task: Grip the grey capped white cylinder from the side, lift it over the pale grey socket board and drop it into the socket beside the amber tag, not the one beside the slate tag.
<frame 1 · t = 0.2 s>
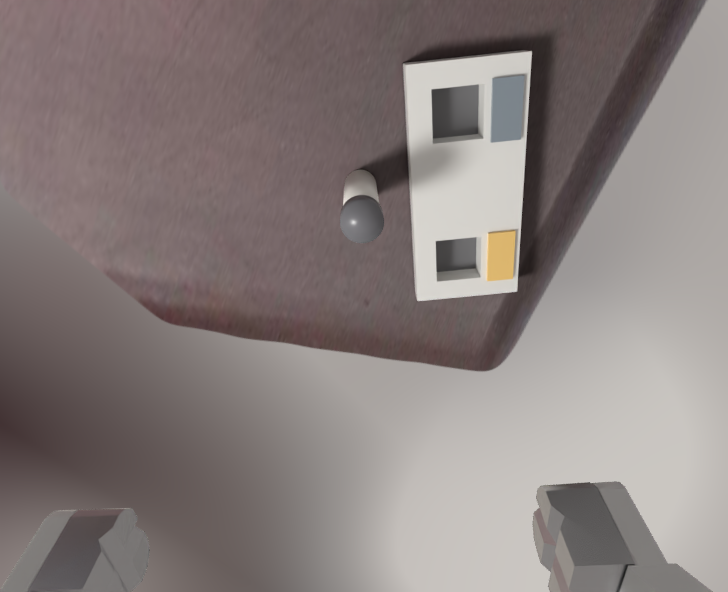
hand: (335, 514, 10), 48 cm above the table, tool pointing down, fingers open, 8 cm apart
socket board: (462, 183, 55), on the table
grey capped white cylinder: (360, 185, 55), on the table
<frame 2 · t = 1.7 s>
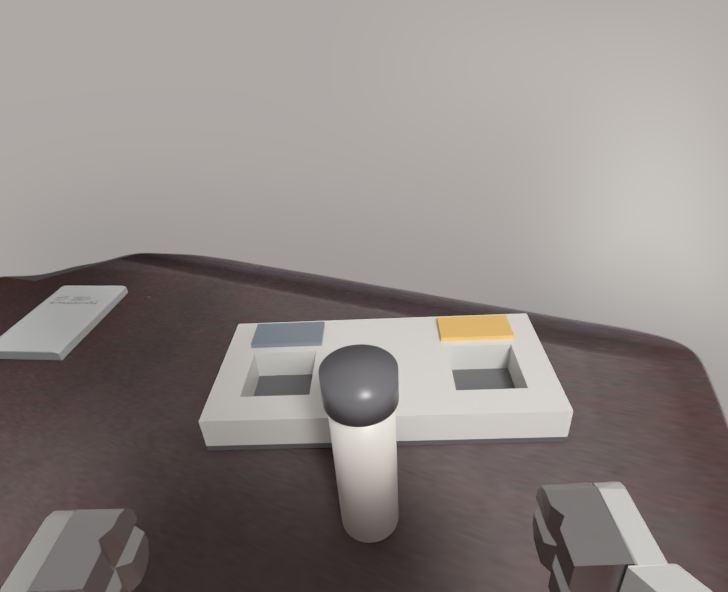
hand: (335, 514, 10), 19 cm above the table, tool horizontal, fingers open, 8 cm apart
socket board: (382, 389, 40), on the table
grey capped white cylinder: (370, 515, 31), on the table
external hard drive: (66, 328, 52), on the table
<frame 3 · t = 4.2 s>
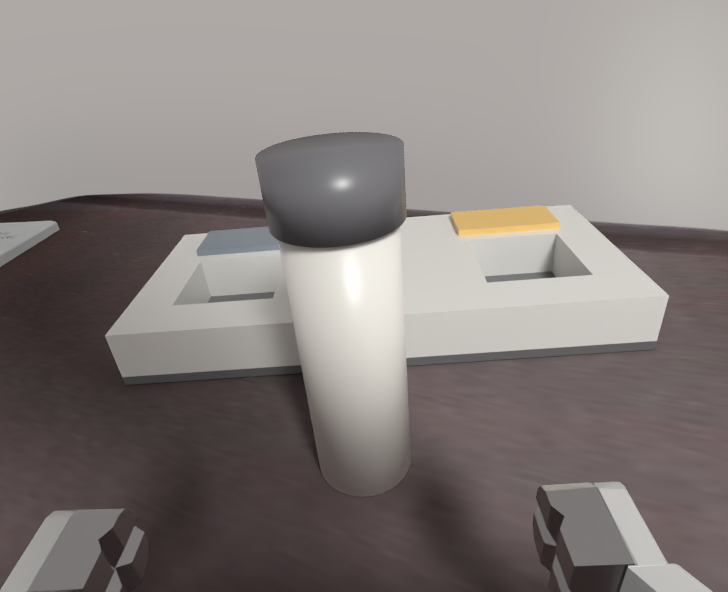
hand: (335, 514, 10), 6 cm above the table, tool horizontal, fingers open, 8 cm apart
socket board: (380, 304, 29), on the table
grey capped white cylinder: (365, 457, 19), on the table
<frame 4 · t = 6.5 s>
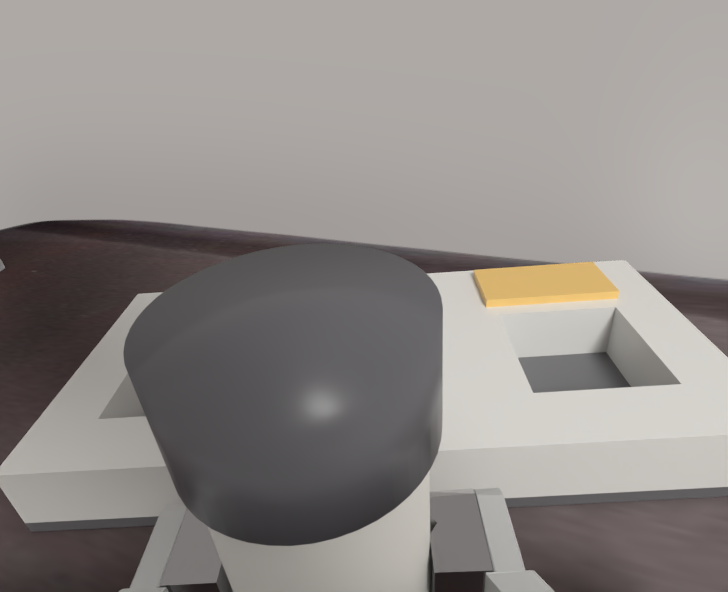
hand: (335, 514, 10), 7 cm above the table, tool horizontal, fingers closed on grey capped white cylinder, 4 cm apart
socket board: (384, 396, 22), on the table
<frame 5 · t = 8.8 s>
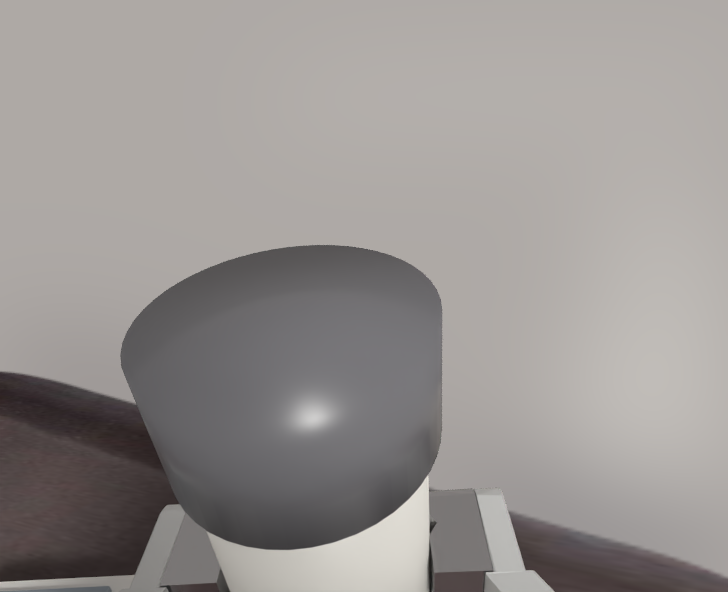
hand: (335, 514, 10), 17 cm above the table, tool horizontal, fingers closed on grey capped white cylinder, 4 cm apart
when the fingers open (8 cm above the table, at t = 11.4 s): grey capped white cylinder stays where it is, resting on socket board.
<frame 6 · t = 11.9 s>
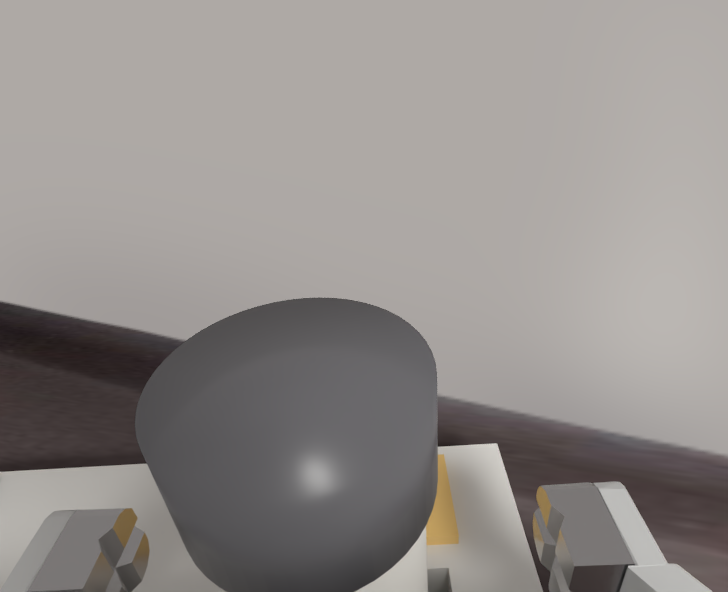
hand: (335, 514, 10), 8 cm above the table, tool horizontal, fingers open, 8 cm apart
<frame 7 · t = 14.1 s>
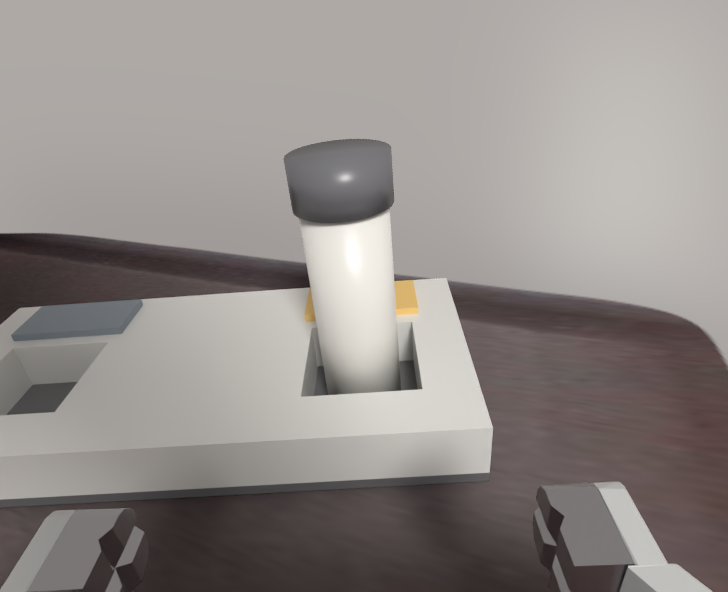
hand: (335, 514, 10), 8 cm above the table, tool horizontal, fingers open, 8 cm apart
socket board: (214, 399, 26), on the table
grey capped white cylinder: (365, 396, 24), point 1 cm above the table, touching socket board
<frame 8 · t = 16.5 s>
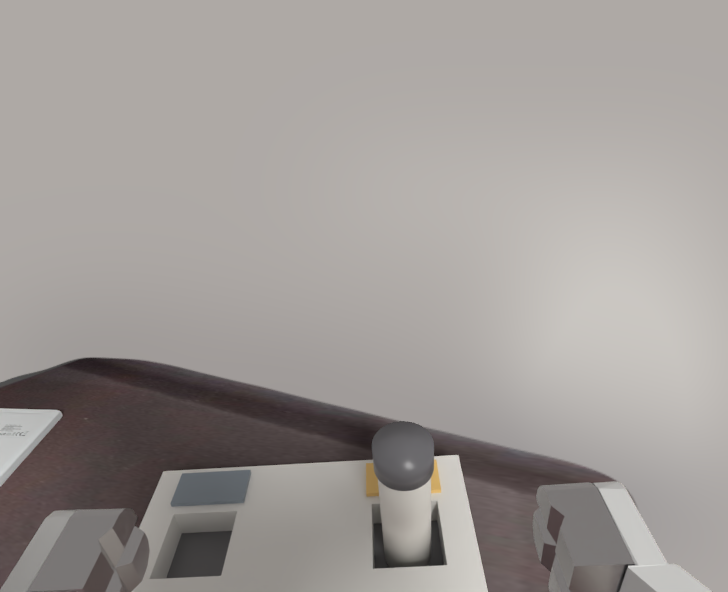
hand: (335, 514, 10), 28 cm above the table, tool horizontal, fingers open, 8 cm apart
socket board: (307, 549, 39), on the table
grey capped white cylinder: (407, 552, 37), point 1 cm above the table, touching socket board
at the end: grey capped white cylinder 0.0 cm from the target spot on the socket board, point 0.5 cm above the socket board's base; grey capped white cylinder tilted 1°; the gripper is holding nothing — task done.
